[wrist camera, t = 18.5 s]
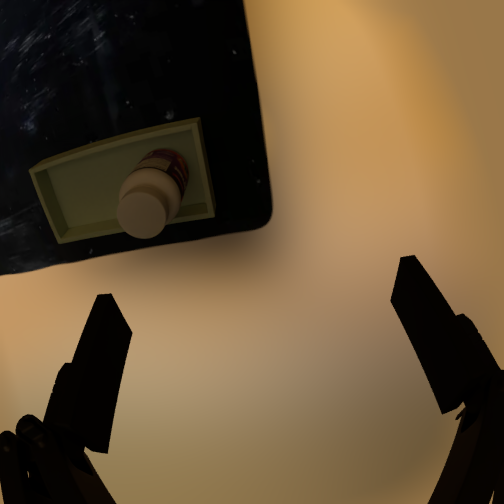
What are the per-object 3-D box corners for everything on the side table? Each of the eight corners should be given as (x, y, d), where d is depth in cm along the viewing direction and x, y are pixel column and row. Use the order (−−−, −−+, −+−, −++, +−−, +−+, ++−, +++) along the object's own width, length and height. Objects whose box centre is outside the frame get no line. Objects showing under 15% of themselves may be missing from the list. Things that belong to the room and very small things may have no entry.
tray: (200, 116, 27) (197, 122, 25) (216, 204, 33) (215, 217, 30) (41, 160, 28) (28, 169, 25) (68, 230, 33) (58, 244, 31)
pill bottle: (190, 196, 32) (176, 248, 24) (141, 195, 31) (113, 245, 23) (190, 146, 28) (174, 183, 20) (138, 146, 28) (103, 183, 20)
